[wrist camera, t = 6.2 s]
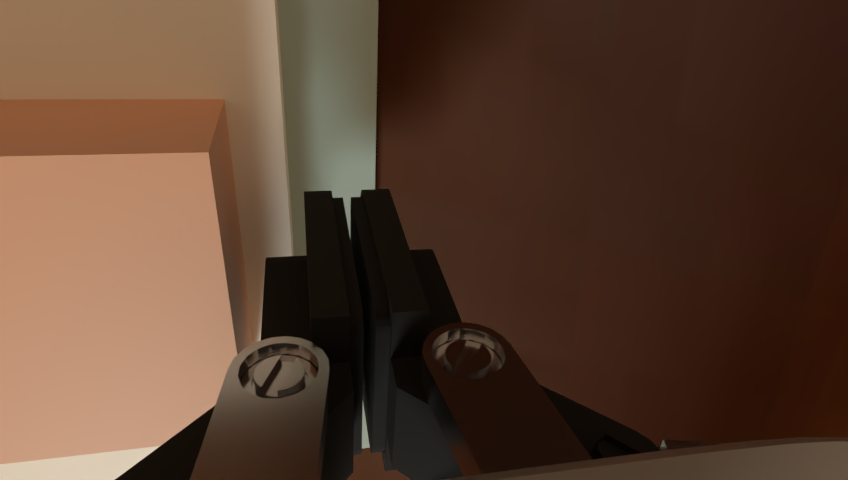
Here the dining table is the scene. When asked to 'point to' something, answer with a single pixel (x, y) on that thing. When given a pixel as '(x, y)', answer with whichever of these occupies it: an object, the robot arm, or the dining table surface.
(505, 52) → the dining table surface
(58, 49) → the block
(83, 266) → the terracotta tile
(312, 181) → the rubber mat
